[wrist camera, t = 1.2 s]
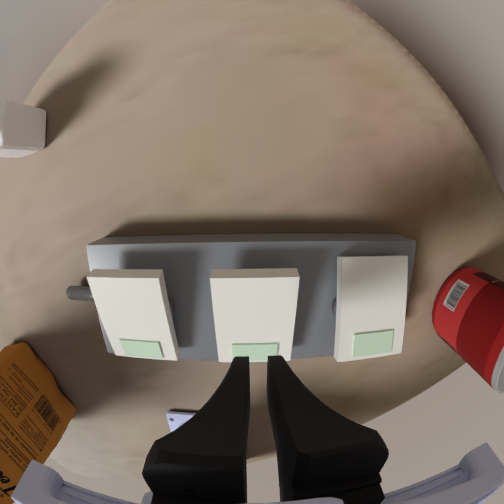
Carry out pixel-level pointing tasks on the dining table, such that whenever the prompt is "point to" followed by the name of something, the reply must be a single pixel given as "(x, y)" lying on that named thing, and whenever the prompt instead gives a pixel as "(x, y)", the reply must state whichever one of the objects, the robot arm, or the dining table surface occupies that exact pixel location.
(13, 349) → the coffee package
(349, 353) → the rocker
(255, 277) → the rocker
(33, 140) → the pepper shaker
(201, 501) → the robot arm
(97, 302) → the rocker
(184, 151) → the dining table surface
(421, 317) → the dining table surface
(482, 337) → the canned food
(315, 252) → the switch strip
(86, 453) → the dining table surface
